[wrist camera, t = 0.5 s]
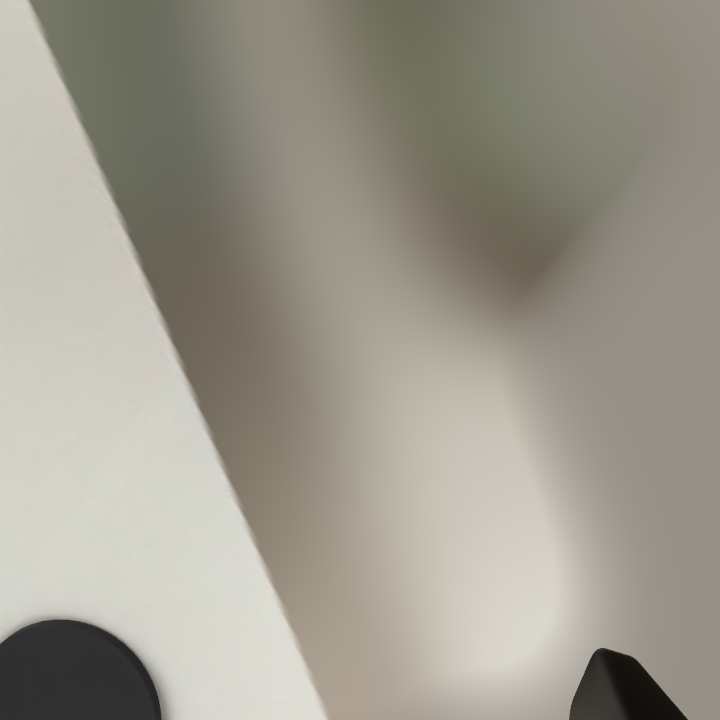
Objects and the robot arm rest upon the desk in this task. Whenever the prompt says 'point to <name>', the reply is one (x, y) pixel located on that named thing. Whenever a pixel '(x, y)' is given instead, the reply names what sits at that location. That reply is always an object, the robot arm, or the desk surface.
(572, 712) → the robot arm
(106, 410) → the desk surface
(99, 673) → the coaster
